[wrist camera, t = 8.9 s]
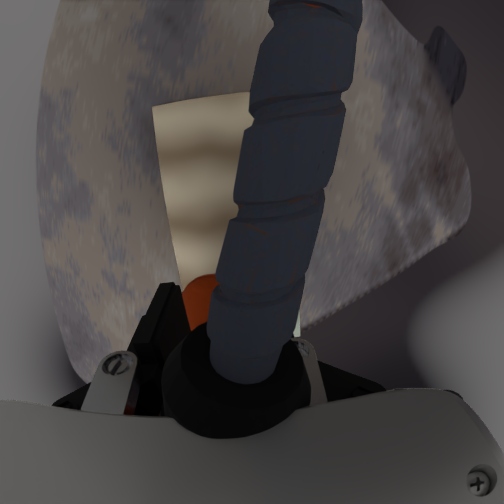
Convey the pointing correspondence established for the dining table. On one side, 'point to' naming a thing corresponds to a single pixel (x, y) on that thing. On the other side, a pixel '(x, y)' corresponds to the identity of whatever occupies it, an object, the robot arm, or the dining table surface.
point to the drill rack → (201, 175)
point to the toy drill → (267, 232)
